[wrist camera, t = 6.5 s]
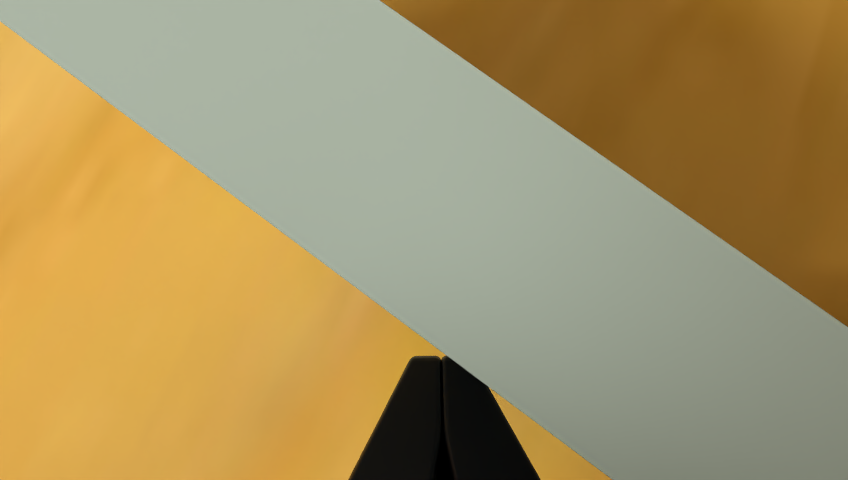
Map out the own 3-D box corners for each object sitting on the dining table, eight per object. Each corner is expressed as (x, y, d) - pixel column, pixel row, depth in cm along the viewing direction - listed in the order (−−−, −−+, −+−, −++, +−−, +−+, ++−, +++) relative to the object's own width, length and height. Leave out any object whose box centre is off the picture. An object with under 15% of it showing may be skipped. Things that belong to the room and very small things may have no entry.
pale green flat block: (718, 407, 15) (1222, 575, 6) (658, 496, 15) (1069, 837, 5) (240, 61, 17) (-46, -308, 7) (179, 139, 17) (-211, -125, 7)
